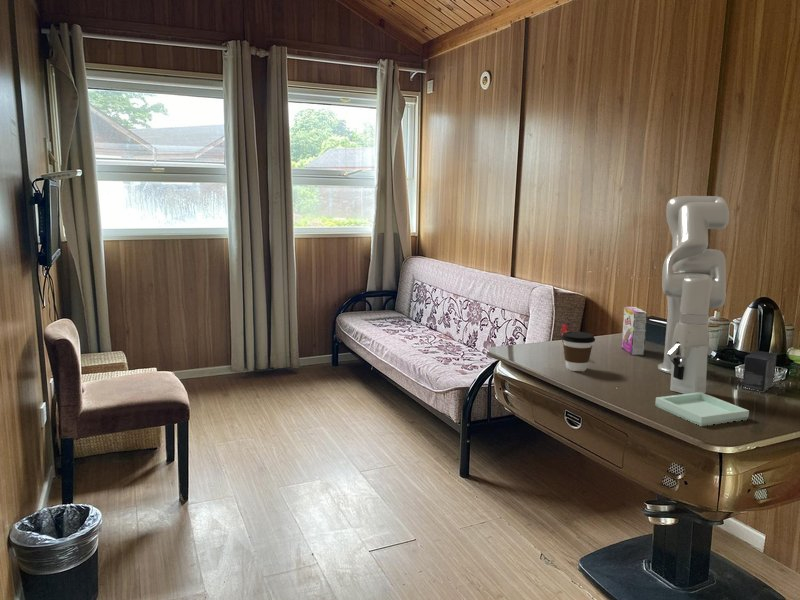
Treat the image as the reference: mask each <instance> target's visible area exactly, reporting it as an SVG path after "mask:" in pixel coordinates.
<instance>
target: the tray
mask: <svg viewBox="0 0 800 600" xmlns="http://www.w3.org/2000/svg"><path fill="white" fill-rule="evenodd" d="M654 407H657V408H659V409H660V410H662V411H663V410H664V411H665V412H667V413H669V414H671V415H674V416H676V417H678V418H680V417H681V419H682V420H685V421H687V420H688V422H689V421H690V423H692V424H693V425H696V424H697V426H698V425H699V426H698V427H700V426H701V427H707V425H708V426H713V424H715V425H721V423H722V424H727V422H729V423H733V421H736V422H740V421H741V420H743V421H747V419H748V420H749V415H750V410H748V409H746V408H743V407H741V406H738V405H737V404H733V403H730V402H728V401H725V400H723V399H720V398H717V397H715V396H712V395H709V394H708V393H707V394H706V393H705V394H704V393H702V392H697V393H689V394H683V393H680V394H674V395H667V396H666V395H665V396H657V397H655V404H654Z"/></svg>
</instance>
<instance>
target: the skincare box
mask: <svg viewBox="0 0 800 600" xmlns="http://www.w3.org/2000/svg"><path fill="white" fill-rule="evenodd" d="M676 354H677V353H676ZM676 354H675V356H676ZM707 354H708V346H707V345H703V346H696V347H691V350H690V354H689V357H688V358H686V359H685V361H684V364H683V367H684V374H683V380H679V379H677V378H674V377H673V374H674V365H673V362H672V365H671V374H670V388H669V389H670V391H672V392H676V393H679V394H689V393H697V392H702V393H704V394H706V392H707V389H706V388H707V371H708V370H707V369H708V359H707ZM679 355H681V353H680V352H679ZM680 359H681V358H680V357H679V361H680Z"/></svg>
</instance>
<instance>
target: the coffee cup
mask: <svg viewBox="0 0 800 600" xmlns="http://www.w3.org/2000/svg"><path fill="white" fill-rule="evenodd" d="M562 339H563V342H564V344H563V342H562V345H563V346H562V348H563V355H564V360H565V367H566V369H567V370H568V369H569V370H568V371H570V370H572V371H571V372H575V371H582V372H585V371H586V370H587V368H588V363H589V362H590V357H591V354H592V349H593V343H595V341H596V338H595V336H594V334H592V333H589V332H584V331H570V332H565V333H563V335H561V340H562Z"/></svg>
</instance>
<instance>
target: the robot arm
mask: <svg viewBox="0 0 800 600" xmlns="http://www.w3.org/2000/svg"><path fill="white" fill-rule="evenodd" d="M665 209H666V210H665V211H666V212H665V213H666V214H665V215H666V217H665V218H666V221H667V222H666V223H667V226H668V228H669V232H670V234H671V239H672V246H671V247H672V248H671V249H672V250H671V251H670V252H669V253H668V254H667V256H666V257H665V259H664V262H663V264H662V273H661V275H662V276H661V288H662V292H663V294H664V295H666V300H667V301H666V302H667V317H666V329H665V330H666V331H665V338H664V340H665V341H664V351H663V352H664V353H663V362H661V363H659V364H657V369H658V371H661V372H662V373H666V374H670V375H671V365H672V362H673V365H674V374H673V377H674V378H677V379H679V380H683V374H684V367H683V364H684V361H685V359H686V358H688V357H689V354H690V350H691V347H696V346H703V345H707V346H708V354H707V360H708V359H709V358H710V356H711V354H712V353H713V348H711V346H710V330H709V323H708V322H709V319H710V315H709V310H710V309H720V308H722V307H723V306H724V305H725V303H726V297H727V265H726V264H727V263H726V257H725V254H724V252H722V251H721V250H719V249H714V248H708V247H709V230H722V229H723V230H724V229H725V228H726V227H727V226H728V224H729V221H730V210H729V207H728V204H727V202H726V200H725V199H724V198H723V197H722V196H717V195H714V196H713V195H712V196H711V195H680V196H679V195H678V196H675V197H672V198H670V199H669V200H668V201H667V204H666V208H665ZM679 352H680V353H681V355H679ZM676 353H677V354H676ZM675 354H676V356H675ZM679 357H680V358H681V359H680V361H679Z"/></svg>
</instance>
